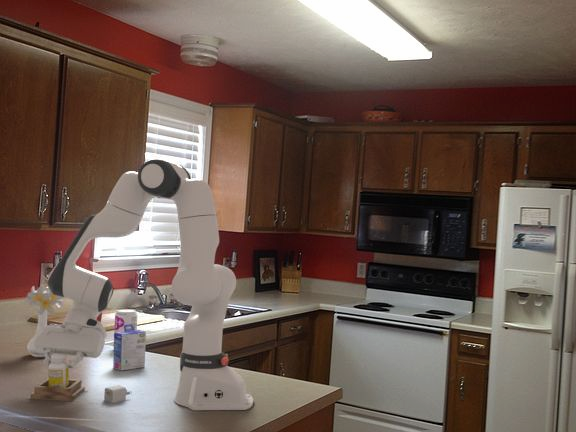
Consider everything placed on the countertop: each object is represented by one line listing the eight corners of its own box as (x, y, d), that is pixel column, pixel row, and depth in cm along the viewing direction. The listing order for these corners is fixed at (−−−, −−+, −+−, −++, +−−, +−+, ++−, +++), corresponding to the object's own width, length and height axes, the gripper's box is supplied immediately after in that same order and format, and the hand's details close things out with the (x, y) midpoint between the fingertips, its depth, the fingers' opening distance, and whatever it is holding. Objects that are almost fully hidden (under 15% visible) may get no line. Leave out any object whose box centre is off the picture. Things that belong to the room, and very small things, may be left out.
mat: (88, 392, 201) (88, 390, 201) (76, 402, 190) (76, 401, 190) (40, 389, 201) (40, 388, 201) (25, 399, 190) (26, 398, 190)
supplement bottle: (61, 385, 199) (61, 352, 198) (72, 389, 195) (72, 355, 195) (44, 389, 195) (44, 355, 194) (55, 394, 191) (55, 359, 191)
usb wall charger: (104, 401, 192) (104, 387, 192) (124, 397, 198) (125, 383, 197) (112, 404, 190) (113, 390, 190) (133, 400, 195) (133, 386, 195)
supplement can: (119, 353, 255) (121, 312, 255) (109, 349, 261) (111, 309, 261) (139, 351, 260) (141, 311, 260) (129, 347, 267) (130, 308, 266)
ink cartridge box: (136, 364, 239) (138, 322, 239) (145, 367, 235) (147, 325, 235) (111, 368, 231) (113, 325, 231) (120, 371, 228) (122, 327, 228)
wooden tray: (84, 391, 200) (85, 380, 200) (73, 400, 190) (74, 388, 190) (43, 388, 200) (44, 377, 200) (30, 398, 190) (30, 386, 190)
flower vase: (30, 362, 233) (33, 289, 233) (16, 352, 248) (20, 283, 248) (68, 359, 240) (72, 288, 240) (53, 349, 255) (56, 282, 255)
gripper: (42, 317, 204) (21, 356, 195) (105, 322, 200) (87, 363, 190) (50, 329, 208) (29, 368, 199) (112, 335, 204) (94, 375, 195)
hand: (58, 366), depth 195 cm, fingers open, 6 cm apart
